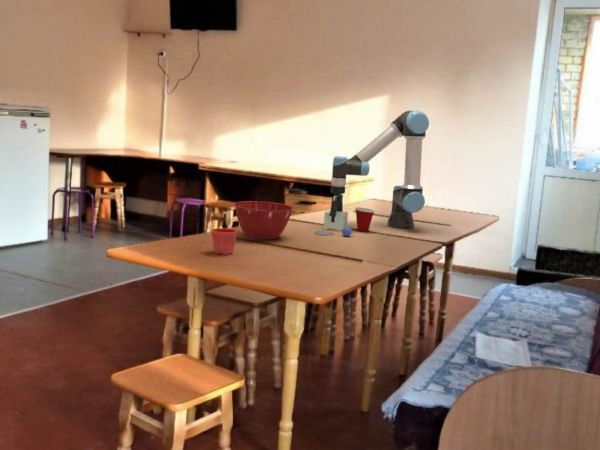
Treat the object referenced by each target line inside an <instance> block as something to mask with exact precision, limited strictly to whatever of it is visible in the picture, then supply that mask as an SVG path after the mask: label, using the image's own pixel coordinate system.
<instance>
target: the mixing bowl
mask: <svg viewBox="0 0 600 450" xmlns="http://www.w3.org/2000/svg"><path fill="white" fill-rule="evenodd" d="M233 204H234V209H235V214H236V218H237V221H238V224H239V228H240V229H241V230H242V232H243V233H244V234H245V235H246V236H247V237H248V238H250V237H251V238H250V239H254V238H256V239H255V240H263V239H269V240H274V238H275V239H276V238H278V237H279V236H280V235H281V234H282V233H283V231H284V230H285V228H286V227H287V226H288V222H289V221H290V219H291V215H292V211H293V209H294V207H293V206H291V205H290V204H289V205H288V204H284V203H278V202H270V201H255V200H253V201H252V200H249V201H248V200H246V201H243V200H242V201H237V202H234V203H233Z"/></svg>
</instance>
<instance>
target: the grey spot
mask: <svg viewBox="0 0 600 450" xmlns="http://www.w3.org/2000/svg"><path fill="white" fill-rule="evenodd" d="M313 232H314V235H319V236H333V235H334V233H333V232H331V231H325V230H324V231H323V230H320V231H319V230H317V231H313Z"/></svg>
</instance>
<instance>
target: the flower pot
mask: <svg viewBox="0 0 600 450" xmlns="http://www.w3.org/2000/svg"><path fill="white" fill-rule="evenodd" d="M210 232H211V239H212V245H213V250H214V251H213V252H214V253H215V252H216V253H215V254H217V253H221V254H220V255H231V254H230V253H232V254H233V252H234V249H235V245H236V241H237V240H236V239H237V236H238V230H237V229H233V228H226V227H225V228H224V227H222V228H220V227H218V228H212V229H211V230H210Z"/></svg>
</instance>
